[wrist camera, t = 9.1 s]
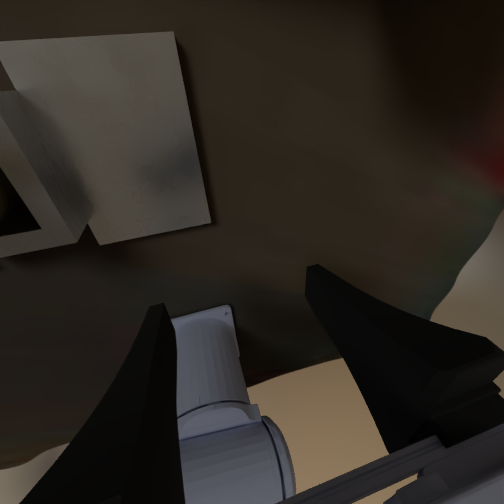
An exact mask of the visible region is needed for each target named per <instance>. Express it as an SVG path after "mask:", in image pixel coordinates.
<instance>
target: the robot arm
mask: <svg viewBox="0 0 504 504" xmlns="http://www.w3.org/2000/svg"><path fill="white" fill-rule="evenodd" d="M305 296H306V298H307V300H308V302H309V304H310V306H311V308H312V310H313V312H314V314H315V315H316V317H317V318H318V320H319V321H320V323H321V324H322V326H323V327H324V329H325V330H326V332H327V333H328V335H329V336H330V338H331V339H332V341H333V342H334V344H335V345H336V347H337V348H338V350H339V352H340V353H341V355H342V357H343V359H344V361H345V362H346V364H347V366H348V368H349V370H350V372H351V374H352V376H353V378H354V379H355V382H356V383H357V385H358V387H359V390H360V391H361V393H362V396H363V398H364V400H365V402H366V404H367V406H368V408H369V410H370V413H371V415H372V417H373V419H374V421H375V424H376V426H377V428H378V430H379V433H380V435H381V437H382V440H383V442H384V444H385V447H386V449H387V451H388V452H389V455H387V456H384V457H382V458H380V459H377V460H375V461H373V462H371V463H368V464H366V465H364V466H362V467H359V468H357V469H354V470H352V471H350V472H347V473H346V474H343V475H340V476H338V477H336V478H333V479H331V480H329V481H326V482H324V483H322V484H319V485H317V486H315V487H313V488H310V489H308V490H306V491H303V492H301V493H299V494H296V482H295V474H294V469H293V464H292V460H291V456H290V452H289V449H288V446H287V444H286V441H285V439H284V436H283V434H282V432H281V431H280V429H279V428H278V426H277V425H276V424H275V423H274V422H273V421H272V420H271V419H270V418H269V417H268V416H261V415H260V412H259V408H258V405H257V404H253V405H251V404H250V400H249V396H248V393H247V389H246V385H245V381H244V377H243V373H242V369H241V366H240V362H239V358H238V357H239V356H240V354H239V349H238V343H237V338H236V333H235V328H234V322H233V317H232V312H231V307H230V306H229V305H223V306H219V307H215V308H212V309H208V310H204V311H200V312H197V313H193V314H189V315H185V316H182V317H178V318H174V319H170V317H169V314H168V312H167V309H166V307H165V305H164V303H161V304H157V305H153V306H150V307H149V309H148V311H147V314H146V316H145V319H144V321H143V323H142V326H141V328H140V330H139V333H138V335H137V337H136V339H135V341H134V343H133V345H132V347H131V349H130V351H129V353H128V355H127V357H126V359H125V361H124V363H123V365H122V366H121V368H120V370H119V372H118V374H117V375H116V377H115V379H114V381H113V382H112V384H111V385H110V387H109V389H108V390H107V392H106V393H105V395H104V397H103V398H102V400H101V401H100V402H99V404H98V405H97V407H96V408H95V410H94V411H93V413H92V414H91V416H90V417H89V418H88V420H87V421H86V423H85V424H84V425H83V427H82V428H81V429H80V431H79V432H78V433H77V435H76V436H75V437H74V438H73V440H72V441H71V442H70V444H69V445H68V446H67V447H66V449H65V450H64V451H63V453H62V454H61V455H60V456H59V458H58V459H57V460H56V461H55V463H54V464H53V465H52V466H51V467H50V469H49V470H48V471H47V472H46V473H45V475H44V476H43V477H42V478H41V479H40V480H39V482H38V483H37V484H36V485H35V486H34V487H33V488H32V490H31V491H30V492H29V493H28V494H27V495H26V497H25V498H24V499H23V500H22V501H21V502H20V503H19V504H352V503H354V502H356V501H358V500H360V499H362V498H365V497H367V496H369V495H371V494H373V493H375V492H378V491H380V490H382V489H384V488H386V487H388V486H391V485H393V484H395V483H397V482H399V481H402V480H404V479H406V478H408V477H410V476H413V475H415V474H417V473H418V475H417V480H415V481H413V482H411V483H409V484H408V485H406V486H404V487H402V488H400V489H398V490H397V491H396V493H395V494H394V495H393V496H392V497H391V498H389V499H388V500H386V501H385V502H384V503H383V504H504V399H503V398H502V397H501V396H500V395H499V394H498V393H499V392H500V391H501V390H500V388H499V387H498V386H497V385H496V384H495V383H494V382H493V380H494V379H495V378H496V377H497V376H498V375H499V374H500V373H501V372H502V371H503V370H504V351H503V350H501V349H500V348H499V347H498V346H496V345H495V344H494V343H493V342H491V341H490V340H489V339H488V338H486V337H483V336H479V335H476V334H471V333H468V332H464V331H461V330H457V329H453V328H450V327H447V326H444V325H441V324H437V323H434V322H431V321H428V320H426V319H423V318H420V317H417V316H415V315H412V314H410V313H407V312H405V311H402V310H400V309H397V308H395V307H393V306H391V305H389V304H386V303H384V302H382V301H380V300H378V299H376V298H374V297H372V296H370V295H368V294H367V293H365V292H363V291H361V290H359V289H358V288H356V287H354V286H352V285H351V284H349V283H347V282H346V281H344V280H343V279H341V278H339V277H338V276H336V275H335V274H333V273H331V272H330V271H328V270H327V269H325V268H324V267H322V266H320V265H319V264H316V265H312V266H308V267H307V273H306V287H305ZM226 312H227V313H226Z"/></svg>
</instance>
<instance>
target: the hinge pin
mask: <svg viewBox="0 0 504 504" xmlns="http://www.w3.org/2000/svg"><path fill="white" fill-rule="evenodd" d="M21 201H22V198H21V197H20V195H19V194H18V192H17V191H16V189H15V188H14V186H13V185H12V183H11V182H10V180H9V179H8V178H7V176H6V175H5V173H4V172H3V170H2V169H1V167H0V218H2V217H3V216H4V215H5V214H6V213H8V212H9V211H10V210H11V209H13V208H14V207H15V206H16V205H17V204H19V203H20V202H21Z"/></svg>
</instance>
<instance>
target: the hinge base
mask: <svg viewBox="0 0 504 504" xmlns="http://www.w3.org/2000/svg"><path fill="white" fill-rule="evenodd" d="M0 60H1V62H2V64H3V66H4V68H5V70H6V72H7V73H8V75H9V77H10V79H11V81H12V83H13V85H14V87H15V88H16V90H15V91H0V167H1V169H2V170H3V172H4V173H5V175H6V176H7V178H8V179H9V180H10V182H11V183H12V185H13V186H14V188H15V189H16V191H17V192H18V194H19V195H20V197H21V198H22V200H23V201H24V203H25V204H26V206H27V207H28V209H29V210H24V211H18V212H13V213H7V214H5V215H4V216H3V217H2V218H0V258H1V257H6V256H11V255H16V254H21V253H26V252H32V251H37V250H42V249H47V248H52V247H57V246H62V245H67V244H72V243H77V241H78V240H79V238H80V236H81V234H82V232H83V231H84V229H85V227H86V225H87V223H88V225H89V226H90V228H91V230H92V232H93V234H94V236H95V238H96V240H97V241H98V243H99V245H104V244H109V243H114V242H119V241H123V240H128V239H133V238H138V237H143V236H148V235H153V234H158V233H163V232H168V231H173V230H178V229H183V228H188V227H193V226H198V225H203V224H208V223H211V219H210V214H209V209H208V204H207V199H206V194H205V189H204V184H203V179H202V174H201V169H200V164H199V158H198V153H197V148H196V143H195V138H194V133H193V128H192V123H191V118H190V113H189V108H188V103H187V98H186V93H185V88H184V83H183V78H182V73H181V67H180V62H179V57H178V52H177V47H176V42H175V37H174V32H157V33H140V34H123V35H105V36H88V37H71V38H54V39H37V40H20V41H3V42H0Z"/></svg>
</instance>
